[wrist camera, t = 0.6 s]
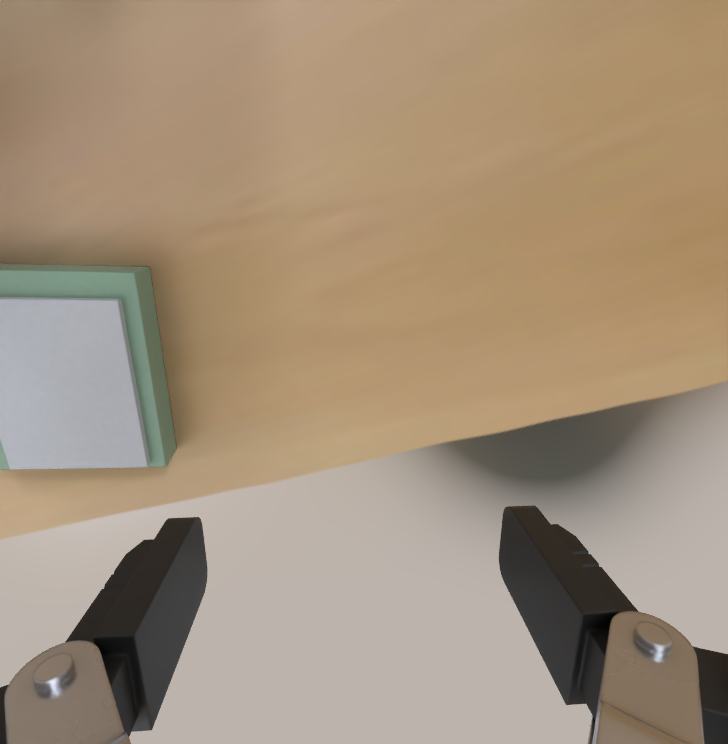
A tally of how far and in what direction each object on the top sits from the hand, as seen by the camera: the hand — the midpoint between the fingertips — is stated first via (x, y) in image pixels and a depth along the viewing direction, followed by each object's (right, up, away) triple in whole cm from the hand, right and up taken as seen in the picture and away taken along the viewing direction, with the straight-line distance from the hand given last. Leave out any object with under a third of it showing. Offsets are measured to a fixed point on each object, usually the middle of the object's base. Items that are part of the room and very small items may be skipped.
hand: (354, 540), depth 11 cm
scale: (-20, +5, +19) cm, 28 cm away
